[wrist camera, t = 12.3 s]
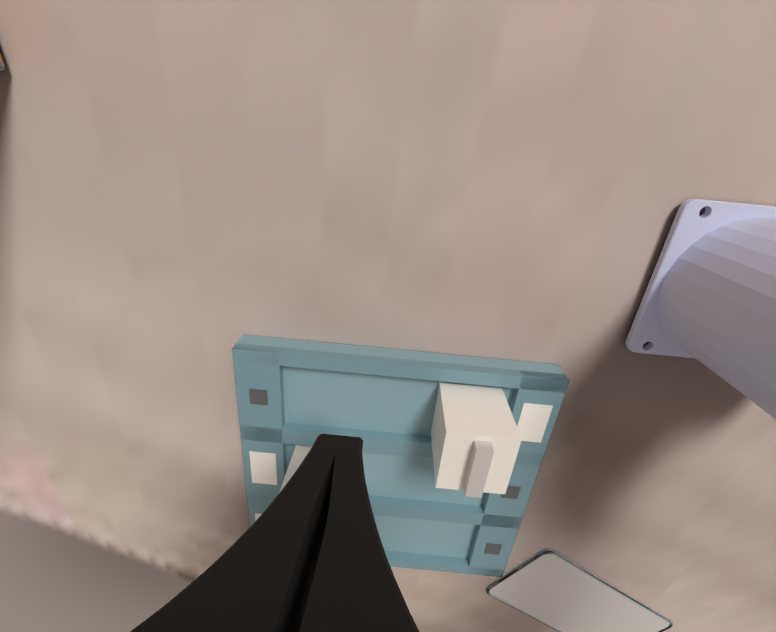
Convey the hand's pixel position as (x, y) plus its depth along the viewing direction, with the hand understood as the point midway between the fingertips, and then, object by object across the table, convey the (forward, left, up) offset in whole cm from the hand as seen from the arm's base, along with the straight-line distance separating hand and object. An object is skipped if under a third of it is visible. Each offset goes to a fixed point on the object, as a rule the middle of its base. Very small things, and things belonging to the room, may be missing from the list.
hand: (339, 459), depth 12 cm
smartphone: (-19, +24, -10) cm, 32 cm away
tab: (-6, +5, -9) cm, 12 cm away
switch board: (-2, +10, -10) cm, 14 cm away
